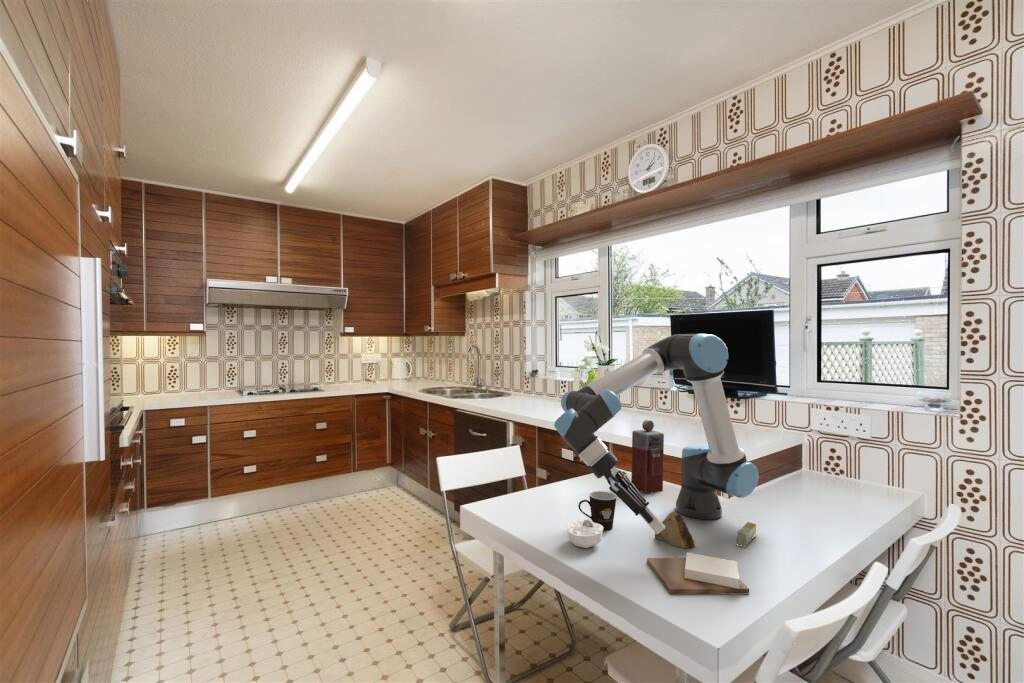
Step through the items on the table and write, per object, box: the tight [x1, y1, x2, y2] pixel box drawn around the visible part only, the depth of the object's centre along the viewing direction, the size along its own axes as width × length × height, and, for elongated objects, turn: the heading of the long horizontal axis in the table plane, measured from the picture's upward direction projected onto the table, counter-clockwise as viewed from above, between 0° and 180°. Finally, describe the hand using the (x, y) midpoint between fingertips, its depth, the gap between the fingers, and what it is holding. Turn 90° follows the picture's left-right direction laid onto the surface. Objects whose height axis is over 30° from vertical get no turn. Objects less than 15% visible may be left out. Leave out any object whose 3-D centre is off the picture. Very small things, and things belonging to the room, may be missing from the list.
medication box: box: [736, 521, 757, 547], centre depth 142 cm, size 12×3×4 cm, turn 140°
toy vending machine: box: [630, 419, 665, 494], centre depth 190 cm, size 9×11×28 cm
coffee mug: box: [577, 490, 618, 532], centre depth 150 cm, size 12×9×10 cm
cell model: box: [567, 518, 604, 549], centre depth 136 cm, size 10×12×7 cm
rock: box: [654, 511, 696, 549], centre depth 140 cm, size 11×9×10 cm
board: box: [646, 557, 750, 595], centre depth 118 cm, size 19×16×1 cm
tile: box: [685, 552, 740, 589], centre depth 117 cm, size 2×10×12 cm
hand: (661, 530), depth 122 cm, fingers closed
